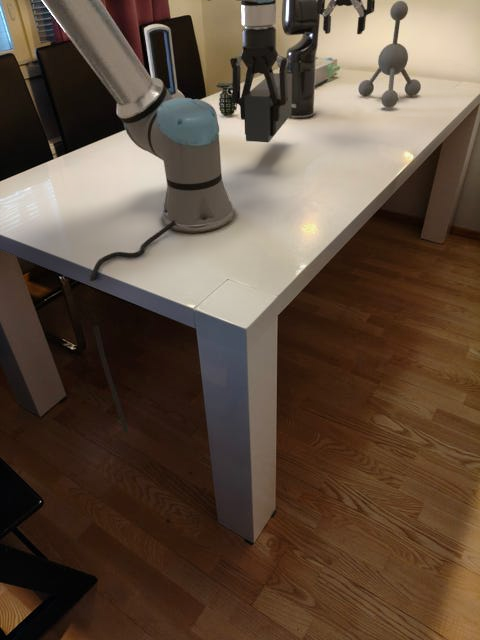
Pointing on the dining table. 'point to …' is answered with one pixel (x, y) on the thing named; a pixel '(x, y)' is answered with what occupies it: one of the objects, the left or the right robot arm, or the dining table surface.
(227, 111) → the grenade
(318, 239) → the dining table surface
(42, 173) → the dining table surface
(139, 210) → the dining table surface
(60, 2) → the left robot arm
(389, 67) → the molecular model
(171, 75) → the electronic device
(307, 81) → the right robot arm
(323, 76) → the grey device with connectors
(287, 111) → the box
